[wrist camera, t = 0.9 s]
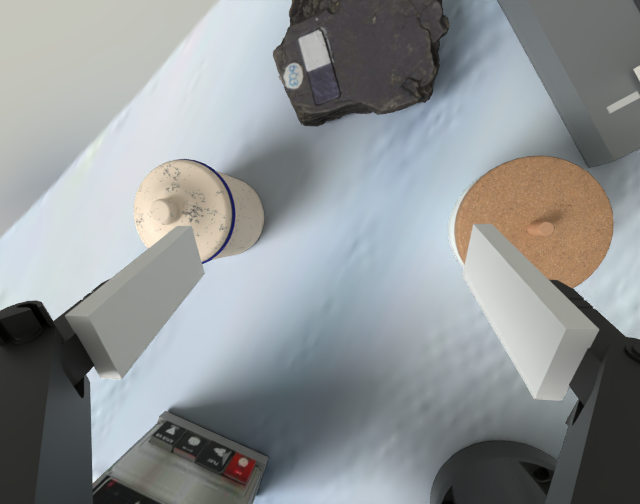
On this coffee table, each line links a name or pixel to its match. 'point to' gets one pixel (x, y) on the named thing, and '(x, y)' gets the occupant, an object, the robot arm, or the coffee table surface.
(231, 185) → the teacup with lid
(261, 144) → the coffee table surface
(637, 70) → the fader knob
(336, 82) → the rock sample
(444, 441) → the coffee table surface
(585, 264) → the lidded jar
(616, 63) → the fader console
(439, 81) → the coffee table surface
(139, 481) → the cassette tape recorder
